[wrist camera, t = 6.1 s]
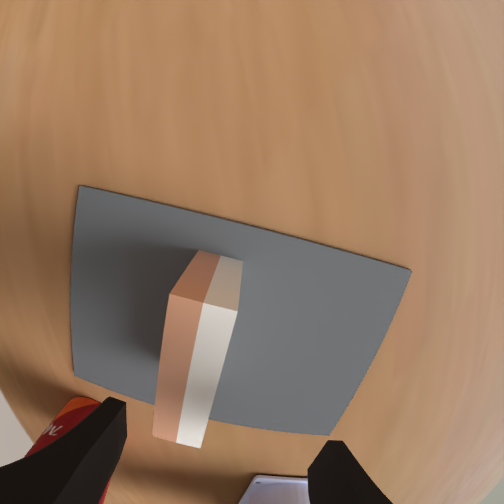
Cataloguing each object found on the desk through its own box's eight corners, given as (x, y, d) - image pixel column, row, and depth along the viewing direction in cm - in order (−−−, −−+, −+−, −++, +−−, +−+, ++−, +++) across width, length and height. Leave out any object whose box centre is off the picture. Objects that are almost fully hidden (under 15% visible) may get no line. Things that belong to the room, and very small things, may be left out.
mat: (328, 432, 20) (329, 435, 19) (76, 372, 19) (74, 375, 18) (409, 268, 16) (412, 271, 16) (82, 185, 15) (79, 185, 15)
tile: (212, 377, 18) (200, 448, 12) (176, 367, 18) (152, 435, 12) (243, 260, 16) (237, 311, 10) (198, 249, 16) (169, 293, 10)
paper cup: (51, 374, 19) (-36, 489, 5) (134, 404, 19) (70, 558, 6) (67, 431, 21) (11, 533, 7) (139, 457, 21) (100, 578, 8)
